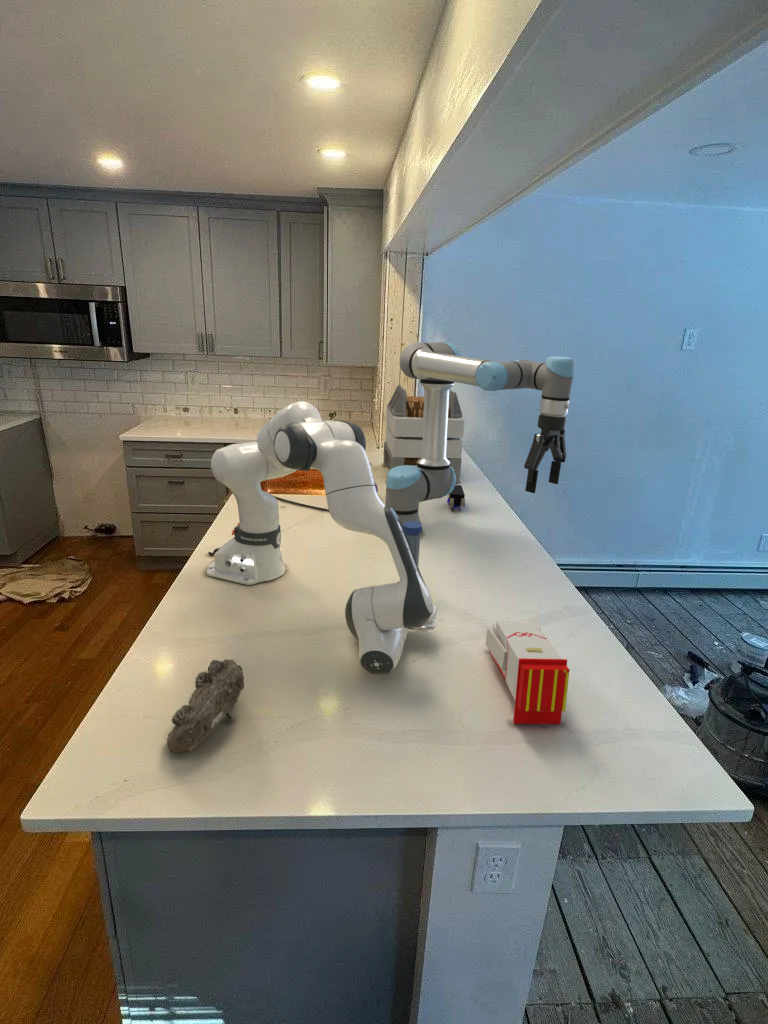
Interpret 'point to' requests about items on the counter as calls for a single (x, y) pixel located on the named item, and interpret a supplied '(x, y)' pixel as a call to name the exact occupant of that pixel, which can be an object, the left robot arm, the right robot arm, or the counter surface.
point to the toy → (530, 671)
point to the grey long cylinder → (414, 545)
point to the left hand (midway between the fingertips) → (399, 596)
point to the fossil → (206, 705)
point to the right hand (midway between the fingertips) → (542, 487)
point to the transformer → (418, 431)
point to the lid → (412, 528)
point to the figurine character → (456, 498)
